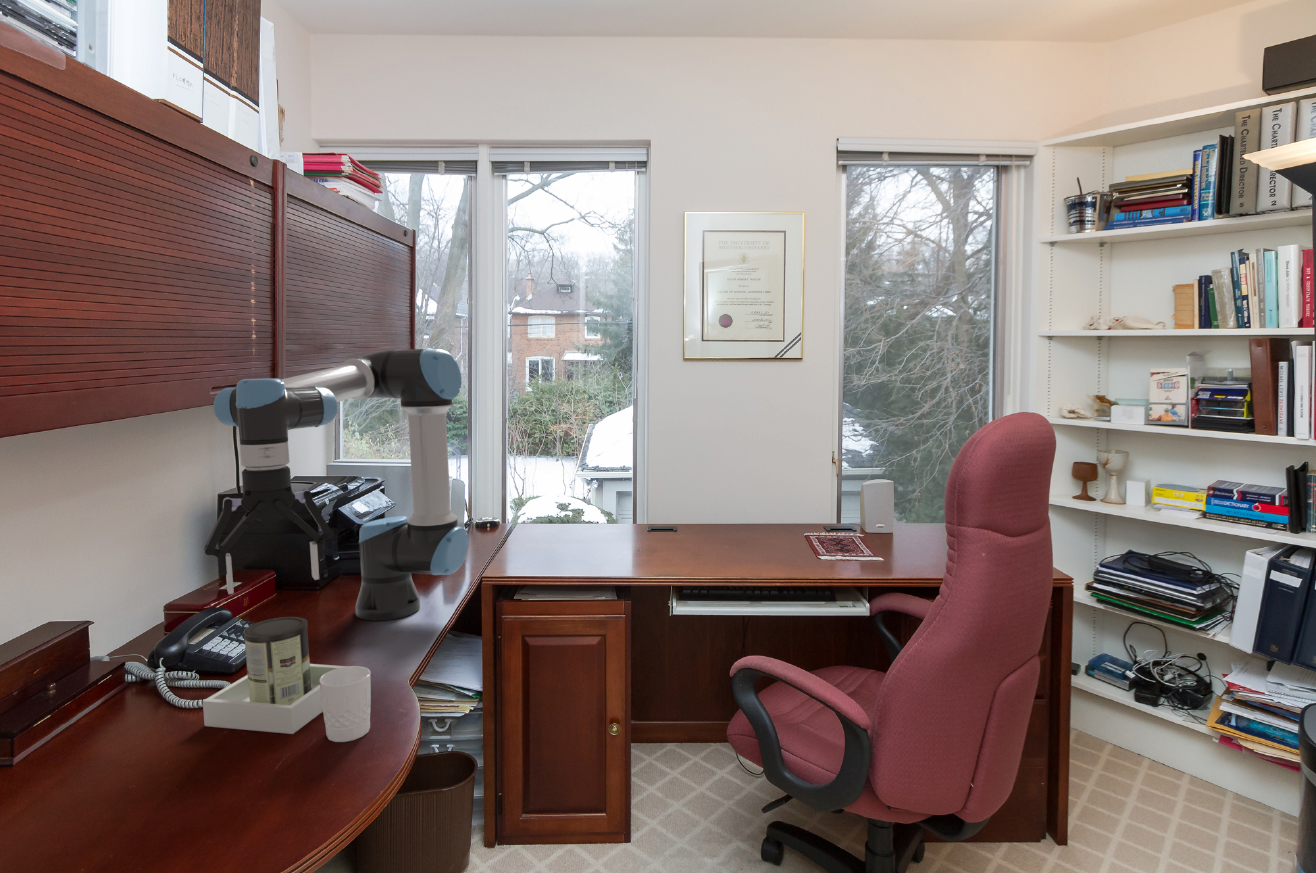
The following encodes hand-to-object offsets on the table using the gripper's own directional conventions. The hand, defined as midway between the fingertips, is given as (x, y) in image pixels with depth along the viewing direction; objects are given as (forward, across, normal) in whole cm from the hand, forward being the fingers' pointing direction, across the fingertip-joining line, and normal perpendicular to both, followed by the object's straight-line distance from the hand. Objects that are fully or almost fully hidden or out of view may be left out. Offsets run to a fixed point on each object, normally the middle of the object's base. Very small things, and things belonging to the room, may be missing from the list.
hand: (274, 584), depth 132 cm
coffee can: (+22, 0, 0) cm, 22 cm away
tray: (+23, 0, 0) cm, 23 cm away
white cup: (+23, +8, -17) cm, 30 cm away
